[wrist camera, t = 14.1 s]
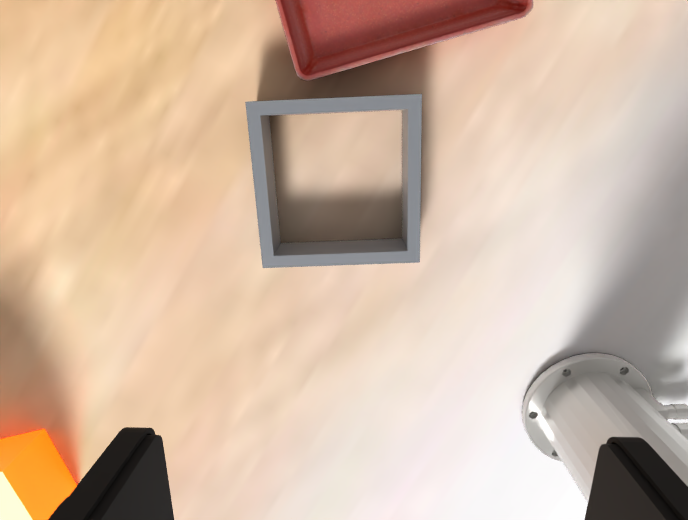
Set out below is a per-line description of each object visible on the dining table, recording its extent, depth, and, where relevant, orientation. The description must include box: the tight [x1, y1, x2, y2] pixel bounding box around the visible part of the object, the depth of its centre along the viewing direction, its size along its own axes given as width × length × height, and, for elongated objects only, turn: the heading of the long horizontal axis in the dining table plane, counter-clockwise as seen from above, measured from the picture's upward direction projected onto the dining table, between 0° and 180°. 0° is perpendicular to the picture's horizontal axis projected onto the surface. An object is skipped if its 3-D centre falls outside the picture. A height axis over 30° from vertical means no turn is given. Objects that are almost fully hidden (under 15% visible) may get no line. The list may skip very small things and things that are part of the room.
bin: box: [246, 94, 422, 268], centre depth 36 cm, size 13×13×4 cm
